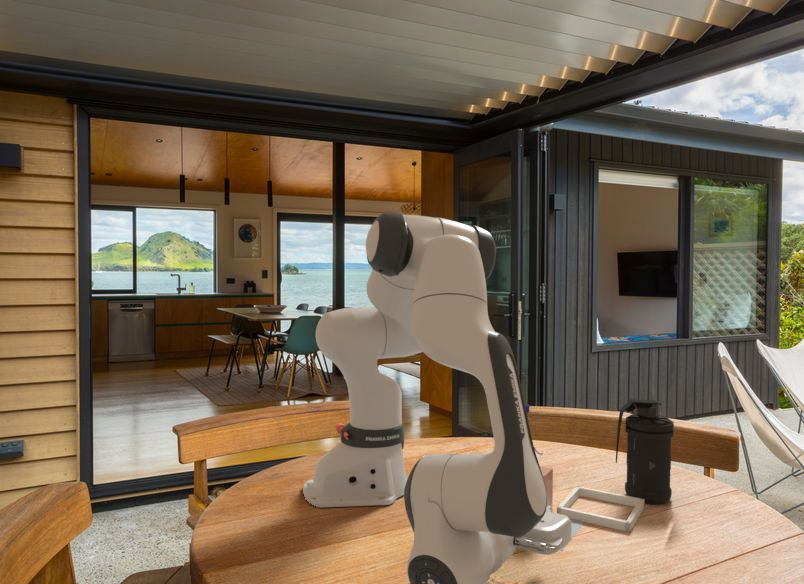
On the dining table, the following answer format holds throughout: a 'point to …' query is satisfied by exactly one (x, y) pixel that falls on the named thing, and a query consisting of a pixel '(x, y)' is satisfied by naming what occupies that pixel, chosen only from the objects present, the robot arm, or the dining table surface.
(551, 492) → the tall salmon pillar
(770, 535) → the dining table surface
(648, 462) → the grenade
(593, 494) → the box
